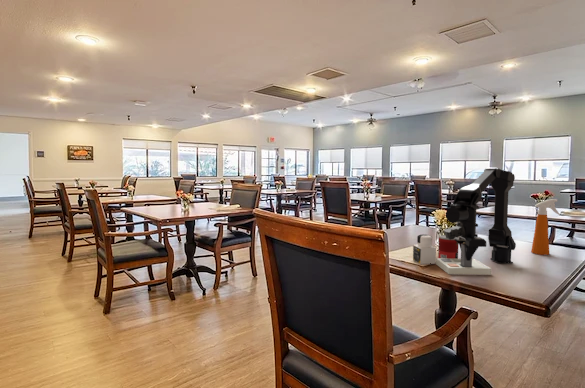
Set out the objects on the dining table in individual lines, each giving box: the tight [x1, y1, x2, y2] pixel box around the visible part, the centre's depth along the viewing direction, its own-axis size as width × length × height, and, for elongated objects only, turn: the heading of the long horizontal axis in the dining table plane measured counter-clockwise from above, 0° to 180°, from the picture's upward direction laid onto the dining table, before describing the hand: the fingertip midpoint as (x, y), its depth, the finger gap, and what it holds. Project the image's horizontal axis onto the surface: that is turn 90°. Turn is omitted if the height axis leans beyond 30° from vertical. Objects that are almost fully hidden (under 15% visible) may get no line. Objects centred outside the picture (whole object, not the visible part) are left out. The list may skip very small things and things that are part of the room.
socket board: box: [435, 257, 492, 276], centre depth 138 cm, size 16×14×3 cm
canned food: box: [437, 234, 460, 259], centre depth 150 cm, size 8×8×11 cm
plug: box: [460, 242, 473, 267], centre depth 134 cm, size 3×3×10 cm
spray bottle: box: [531, 198, 561, 256], centre depth 161 cm, size 7×11×26 cm, turn 72°
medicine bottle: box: [412, 233, 437, 265], centre depth 148 cm, size 7×7×12 cm
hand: (466, 259), depth 134 cm, fingers closed on plug, 3 cm apart
